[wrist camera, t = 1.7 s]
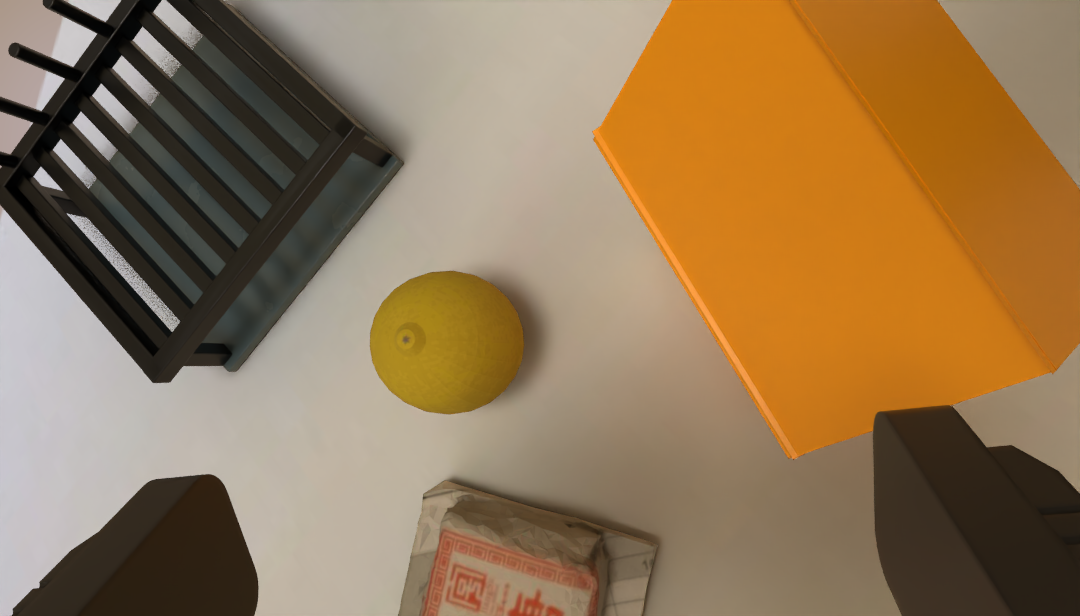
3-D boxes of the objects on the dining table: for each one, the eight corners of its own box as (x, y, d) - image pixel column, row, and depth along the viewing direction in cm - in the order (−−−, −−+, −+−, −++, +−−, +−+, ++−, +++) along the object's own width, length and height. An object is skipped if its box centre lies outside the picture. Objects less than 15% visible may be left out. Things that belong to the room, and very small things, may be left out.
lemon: (459, 429, 34) (371, 448, 26) (408, 318, 35) (309, 305, 28) (567, 373, 33) (508, 375, 25) (511, 259, 34) (439, 228, 26)
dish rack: (236, -1, 39) (104, -94, 31) (412, 159, 36) (314, 101, 28) (80, 210, 41) (-83, 173, 33) (233, 381, 37) (93, 385, 30)
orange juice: (776, 419, 31) (802, 512, 11) (661, 232, 32) (514, 38, 13) (963, 317, 29) (1361, 223, 10) (831, 126, 31) (950, -271, 12)
